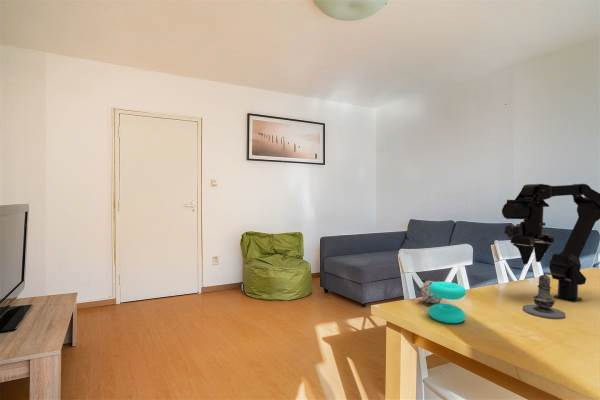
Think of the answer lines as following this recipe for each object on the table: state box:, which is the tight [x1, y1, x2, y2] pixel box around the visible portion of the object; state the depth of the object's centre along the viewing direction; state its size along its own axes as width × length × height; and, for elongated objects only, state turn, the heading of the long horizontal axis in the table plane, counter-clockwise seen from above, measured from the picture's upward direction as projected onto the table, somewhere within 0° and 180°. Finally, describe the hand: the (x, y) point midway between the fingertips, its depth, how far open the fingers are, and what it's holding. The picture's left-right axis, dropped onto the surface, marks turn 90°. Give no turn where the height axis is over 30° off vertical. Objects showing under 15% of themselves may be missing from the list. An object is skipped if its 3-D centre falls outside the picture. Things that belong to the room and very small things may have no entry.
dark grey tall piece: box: [532, 272, 556, 313], centre depth 108 cm, size 6×6×12 cm
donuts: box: [428, 281, 467, 324], centre depth 101 cm, size 10×10×10 cm
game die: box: [417, 278, 443, 304], centre depth 114 cm, size 9×8×10 cm
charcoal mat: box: [522, 304, 566, 320], centre depth 108 cm, size 11×11×1 cm
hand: (531, 263), depth 121 cm, fingers open, 9 cm apart
